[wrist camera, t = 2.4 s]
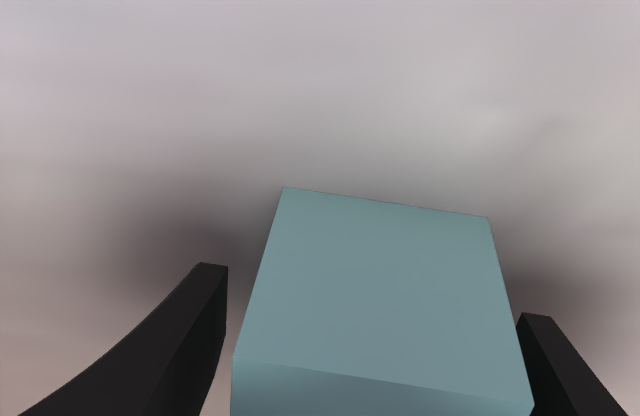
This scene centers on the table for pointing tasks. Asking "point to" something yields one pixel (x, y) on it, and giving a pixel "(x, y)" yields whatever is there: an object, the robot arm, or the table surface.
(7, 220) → the table surface
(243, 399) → the block
